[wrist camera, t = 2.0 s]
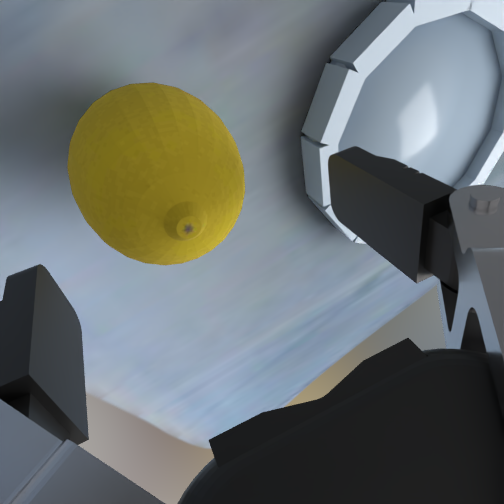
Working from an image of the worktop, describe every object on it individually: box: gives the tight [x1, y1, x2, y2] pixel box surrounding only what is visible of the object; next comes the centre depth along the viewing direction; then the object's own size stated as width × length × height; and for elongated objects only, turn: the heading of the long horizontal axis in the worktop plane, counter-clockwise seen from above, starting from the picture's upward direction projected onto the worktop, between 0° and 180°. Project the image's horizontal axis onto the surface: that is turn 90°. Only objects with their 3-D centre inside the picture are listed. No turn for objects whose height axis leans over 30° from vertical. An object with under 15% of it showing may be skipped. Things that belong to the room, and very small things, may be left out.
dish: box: [301, 0, 504, 244], centre depth 21 cm, size 13×13×2 cm
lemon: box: [68, 83, 245, 265], centre depth 13 cm, size 6×6×8 cm
